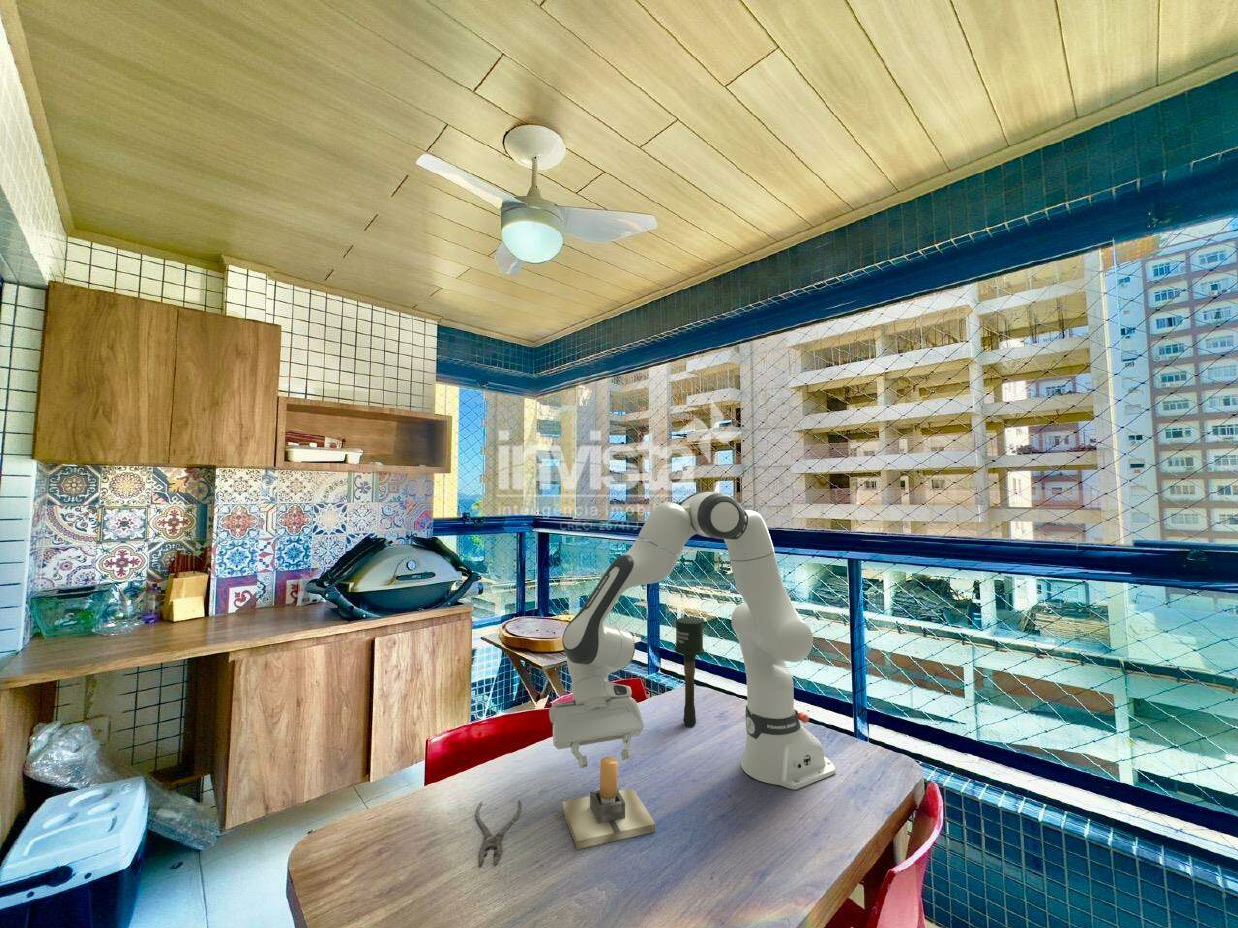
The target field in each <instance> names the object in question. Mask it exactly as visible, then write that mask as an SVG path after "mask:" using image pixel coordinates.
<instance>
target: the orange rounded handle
mask: <svg viewBox="0 0 1238 928" xmlns="http://www.w3.org/2000/svg"><path fill="white" fill-rule="evenodd" d="M618 765H619V761H618V759H617V758H615V757H612V756H606V757H602V758H601V759H600V767H599V790H600V792H599V795H600V796H601V805H603V804H608V803H613V802H615V797H616V796H617V789H618V768H619V767H618Z"/></svg>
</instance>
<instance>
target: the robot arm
mask: <svg viewBox="0 0 1238 928" xmlns="http://www.w3.org/2000/svg"><path fill="white" fill-rule="evenodd" d="M695 535H699V536H702V537H704V538H705V537H706V538H713V539H718V540H723V541H724V543H725V545H726V547H727V553H728V558H729V562H730V566H731V571H732V575H733V578H734V584H735V587H736V590H737V592H738V593H739V595H741V597H742V598H743V600H744V601H745V602H742V603H740V604H739V605H737V606H736V607H735V608H734V610H733V611H732V614H731V620H730V621H731V627H732V630H733V631H734V633H735V635H736V637H737V639H738V642H739V647H740V650H741V654H742V660H743V664H744V669H745V675H746V695H747V696H746V697H747V701H746V703H747V704H746V706H745V729H746V736H745V744H744V749H743V755H742V759H741V761H740V766H741V768H742V770H743V771H744V772H745V774H747V775H748V776H750V777H751V778H752V779H755V780H757V781H760V782H763V783H767V784H769V785H778V786H781V787H784V788H787V789H790V790H799V789H801V788H803V787H806V786H808V785H811V784H813V783H815V782H818V781H820V780H823V779H826V778H828V777H830V776H832V775H834V774H836V767H835V765H834V764H833V762H832V761H831V760H830V759H829V758H828V757H826V756H825V752H824V747H823V745H822V743H821V741H820V740H819V739H818V738H817V737H816V736H814V735H813V733H811V732H810V731H809V730H808V729H806V728H805V727H804V726H803V725H801V723H800V721H801V722H802V723H804V724H807V723H808V722H809V721H810V720H809V719H810V717H809V715H808V714H806V713H804V712H802V711H800V712H799V711H798V710H797V709H796V708H795V705H794V703H795V697H794V696H795V695H794V693H795V691H794V690H795V689H794V685H795V684H794V680H793V676H792V674H791V672H790V670H789V668H788V666H787V665H786V662H790V663H798V662H802V661H804V660H805V659H807V658H808V656H809V654H810V653H811V651H812V648H813V645H814V636H813V632H812V630H811V628H810V627H809V625H808V624H807V623H806V622H805V621H804V620H803V618H802V617H801V616H800V613H799V612H798V611H797V609H796V607H795V605H794V604H793V602H792V600H791V598H790V595H789V593H788V592H787V590H786V587H785V585H784V582H783V579H782V576H781V572H780V569H779V566H778V565H779V564H778V560H777V557H776V553H775V548H774V544H773V541H772V539H771V535H770V533H769V529H768V527H767V525H766V522H765V520H764V518H763V516H762V515H761V514H760V513H759V512H757V511H756V510H755V511H754V510H750V509H744V508H742V506H741V504H740V503H739V502H738V501H737V500H736V499H735V498H734V497H732V496H730V495H729V494H726V493H724V492H716V491H703V492H695V493H692V494H690V495H689V496H687V497H686V498H684V500H681V501H680V502H679V503H677V502H676V503H675V502H672V501H665V502H661V503H658V505H656V507H655V508H654V509H653V511H652V512H651V513H650V515H649V516H648V518H647V519H646V521H645V522H644V524H643V526H642V527H641V529H640V531H639V534H638V536H637V538H636V540H635V541H634V542H633V544H632V546H631V547H630V548H629V549H628V550H627V551H626V552H625V553H624V554H623V555H620V556H618V557H616V559H614V560H613V561H612V562H611V564H610V565H609V567H608V568H607V570H606V571H605V573H604V574H603V576H602V577H601V578H600V580H599V582H598V583H597V585H596V586H595V588H594V589H593V591H592V592H591V593H590V595H589V597H588V599H587V600H586V601H585V603H584V604H583V606H582V608H581V609H580V610H579V611H578V613H577V614H576V615H575V616H573V618H572V619H571V620H570V621H569V623H568V624H567V625H566V627H565V629H564V631H563V633H562V637H561V638H562V641H561V642H562V648H563V651H564V654H565V656H566V664H567V671H568V674H569V677H570V678H571V688H570V689H571V693H572V698H573V700H568V701H563V702H559V701H558V702H555V703H554V704H553V705H552V706H551V707H550V708H549V710H548V715H549V720H550V722H551V724H552V741H553V743H552V744H553V746H554V747H555V748H556V749H557V750H562V749H563V750H564V749H568V748H569V749H570V750H571V754H572V755H573V756H574V757H575V759H576V760H577V762H578V767H579V769H585V768H587V767H588V761H587V760H588V758H587V757H588V756H587V755H583V754H582V753H581V751H580V750H579V749H580V747H581V746H586V745H593V744H599V743H605V742H611V741H616V740H622V743H623V744H625V745H624V748H622V749H621V751H620V752H619V753H620V757H621V760H622V761H629V760H630V759H631V754H630V750H629V749H630V746H631V743H632V738H634V737H639V736H640V735H641V734H642V732H643V730H644V728H645V723H644V719H643V716H642V713H641V710H640V707H639V705H638V702H637V701H636V700H635V699H634V698H632V693H633V692H632V689H631V687H630V686H629V685H624V684H618V683H614V682H610V681H609V679H608V677H609V675H610V674H613V673H616V672H618V671H621V670H623V669H625V668H627V667H628V665H629V664H630V663H631V662H632V660H633V659H634V656H635V652H636V643H635V639H634V636H633V634H632V632H630V630H628V629H625V628H623V627H621V626H617V625H615V624H614V625H613V624H609V623H607V622H605V620H606V619H607V617H608V616H609V614H610V612H611V611H612V610H613V608H614V606H615V605H616V603H617V602H618V600H619V598H620V597H621V595H623V593H625V592H626V591H627V590H629V589H631V588H633V587H636V586H641V585H647V584H648V585H651V584H656V583H659V582H661V581H664V580H665V579H667V578H668V577H669V576H670V574H671V573H672V572H673V570H674V569H675V567H676V565H677V563H678V561H679V558H680V556H681V553H682V551H683V550H684V547H685V545H686V544H687V542H688V541H689V540H690V538H691V537H693V536H695Z"/></svg>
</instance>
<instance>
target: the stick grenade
mask: <svg viewBox="0 0 1238 928" xmlns="http://www.w3.org/2000/svg"><path fill="white" fill-rule="evenodd" d="M703 622H704V621H703V620H702V619H700V618H697V617H691V616H690V617H689V616H687V617H686V616H685V617H679V618H677V619H676V621H675V648H674V652H675V653H676V654H679V655H683V672H684V709H683V720H682V721H683V724H684V726H686V727H691V728H692V727H695V725H696V723H697V717H696V708H695V674H696V656H700V655H703V654H704V653H705V648H704V636H703V635H704V627H703V626H704V623H703Z"/></svg>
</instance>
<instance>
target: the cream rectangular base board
mask: <svg viewBox="0 0 1238 928" xmlns="http://www.w3.org/2000/svg"><path fill="white" fill-rule="evenodd" d="M599 792H600V789H598V790H593V791H589V796H585V797H579V798H573V799H569V800H564V801H562V803H561V809H562V812H563V815H564V817H565V821H566V823H567V826H568V829H569V831H570V834H571V837H572V839H573V842H574V845H575V848H576V850H581V849H584V848H585V849H586V848H590V847H594V846H598V845H602V844H607V843H611V842H615V841H620V840H624V839H630V838H633V837H638V836H642V835H647V834H650V833H655V832H656V823H655V821H654V819H653V818H652V816H651V815H650V813H649V812H648V810H647V809H646V807H645V805H644V804H643V802H642V800H641V799H640V797H639V795H638V794H637V793H636V791H635V790H634V788H633V787H632V788H627V789H621V790H620V789H618V788H617V796H616V797H615V802H613V803H608V804H603V805H601V796H600V795H599Z"/></svg>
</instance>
